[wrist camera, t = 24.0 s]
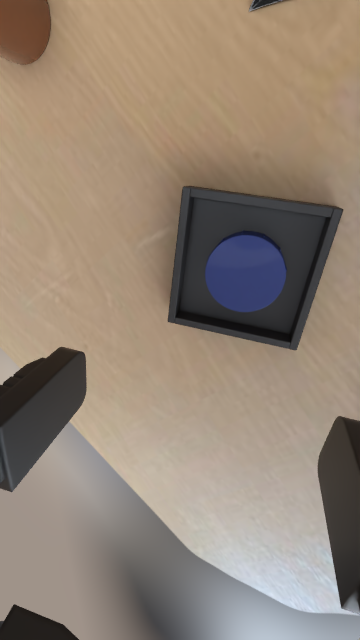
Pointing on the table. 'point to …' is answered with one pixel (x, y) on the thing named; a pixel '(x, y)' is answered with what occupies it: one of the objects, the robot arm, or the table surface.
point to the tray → (263, 217)
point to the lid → (245, 271)
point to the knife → (261, 3)
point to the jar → (23, 29)
